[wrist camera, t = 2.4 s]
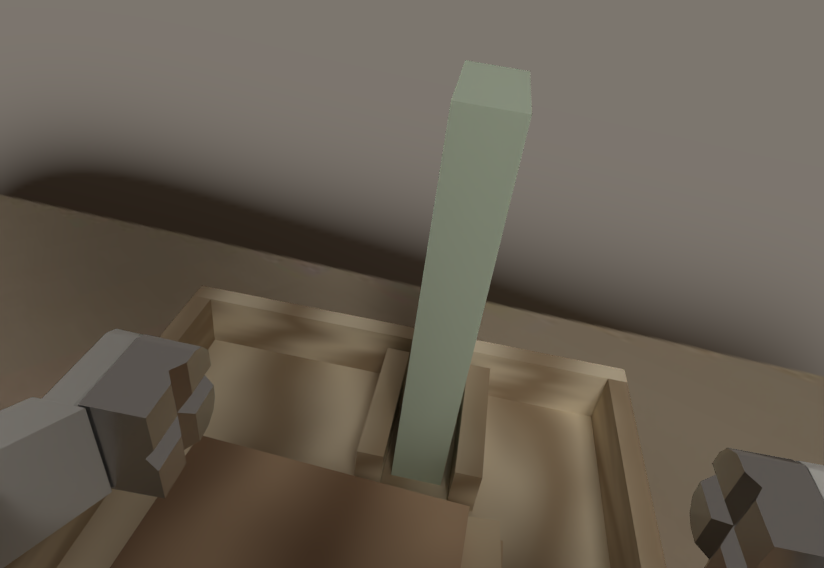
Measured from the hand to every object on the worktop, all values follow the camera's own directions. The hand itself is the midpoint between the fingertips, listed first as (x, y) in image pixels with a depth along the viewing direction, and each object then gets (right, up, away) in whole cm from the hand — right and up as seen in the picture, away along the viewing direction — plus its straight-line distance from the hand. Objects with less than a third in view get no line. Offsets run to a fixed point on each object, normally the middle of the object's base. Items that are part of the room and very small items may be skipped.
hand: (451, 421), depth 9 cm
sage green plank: (0, -6, +20) cm, 21 cm away
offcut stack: (-4, -10, +13) cm, 17 cm away
